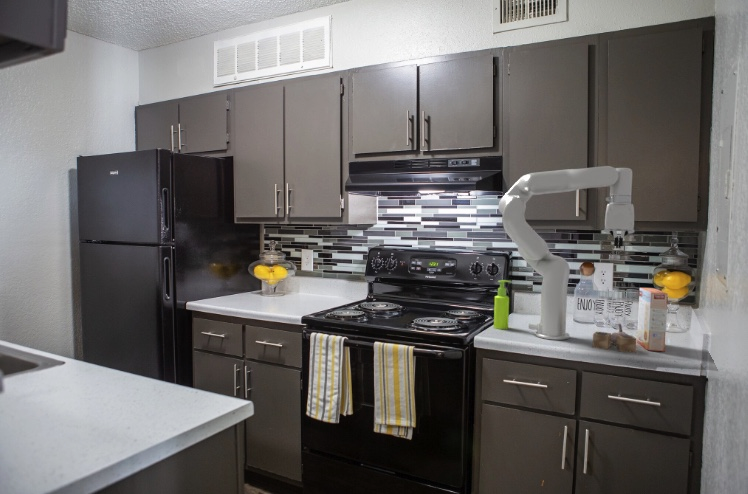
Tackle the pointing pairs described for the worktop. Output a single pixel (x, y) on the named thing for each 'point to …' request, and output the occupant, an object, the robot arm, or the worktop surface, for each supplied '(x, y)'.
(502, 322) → the soap dispenser
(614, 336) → the garlic bulb
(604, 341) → the marked cube
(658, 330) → the cracker box
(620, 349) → the marked cube
